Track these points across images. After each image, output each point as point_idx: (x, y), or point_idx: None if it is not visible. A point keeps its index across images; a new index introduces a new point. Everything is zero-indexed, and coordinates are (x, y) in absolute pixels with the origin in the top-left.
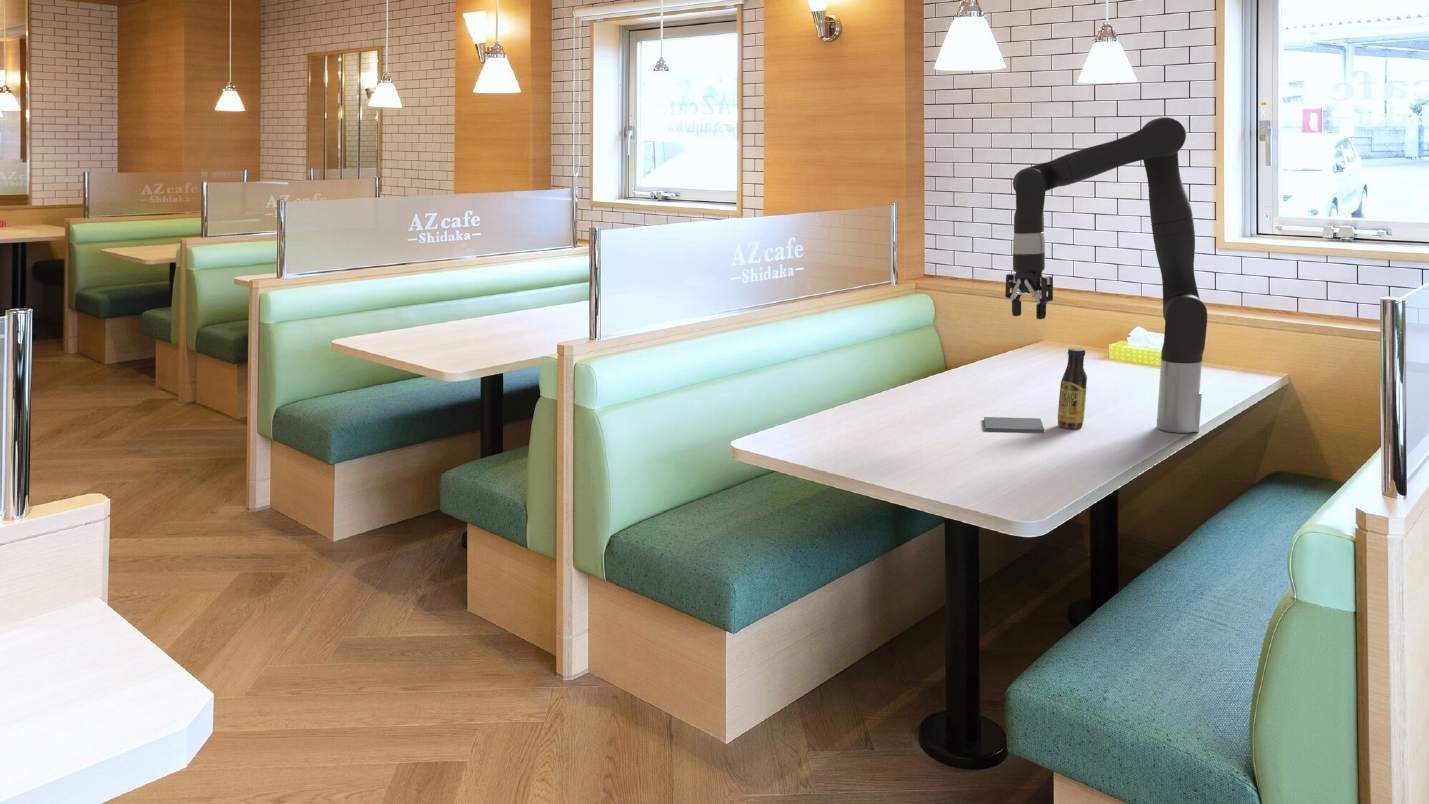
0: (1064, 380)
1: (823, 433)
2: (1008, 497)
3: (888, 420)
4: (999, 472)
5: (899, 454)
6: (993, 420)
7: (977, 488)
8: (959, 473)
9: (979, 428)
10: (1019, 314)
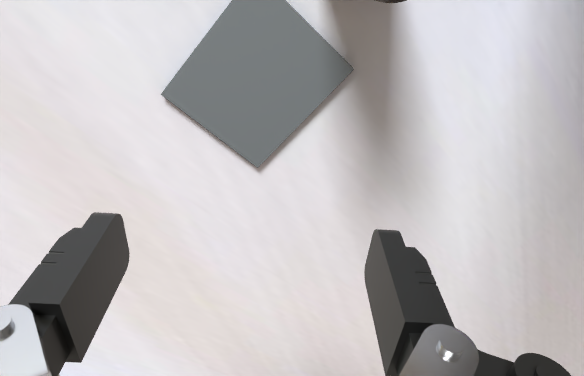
0: (385, 1)
1: (129, 362)
2: None
3: None
4: (465, 307)
5: (299, 347)
6: (206, 102)
7: None
8: None
9: (230, 157)
10: (120, 228)
